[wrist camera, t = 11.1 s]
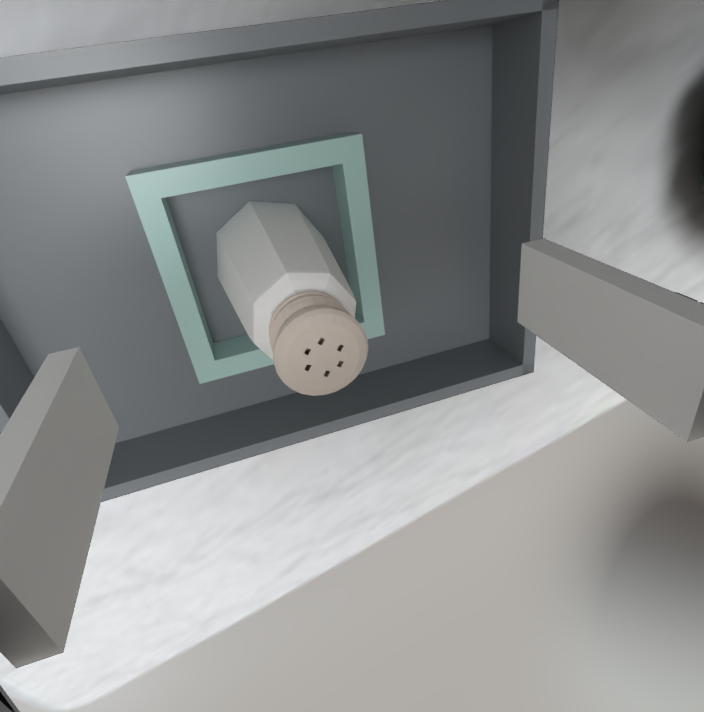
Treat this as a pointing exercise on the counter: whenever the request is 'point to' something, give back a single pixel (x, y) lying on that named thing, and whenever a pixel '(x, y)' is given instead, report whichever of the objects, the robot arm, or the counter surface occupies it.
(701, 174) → the squash
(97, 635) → the counter surface
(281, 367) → the salt shaker
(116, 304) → the bin
